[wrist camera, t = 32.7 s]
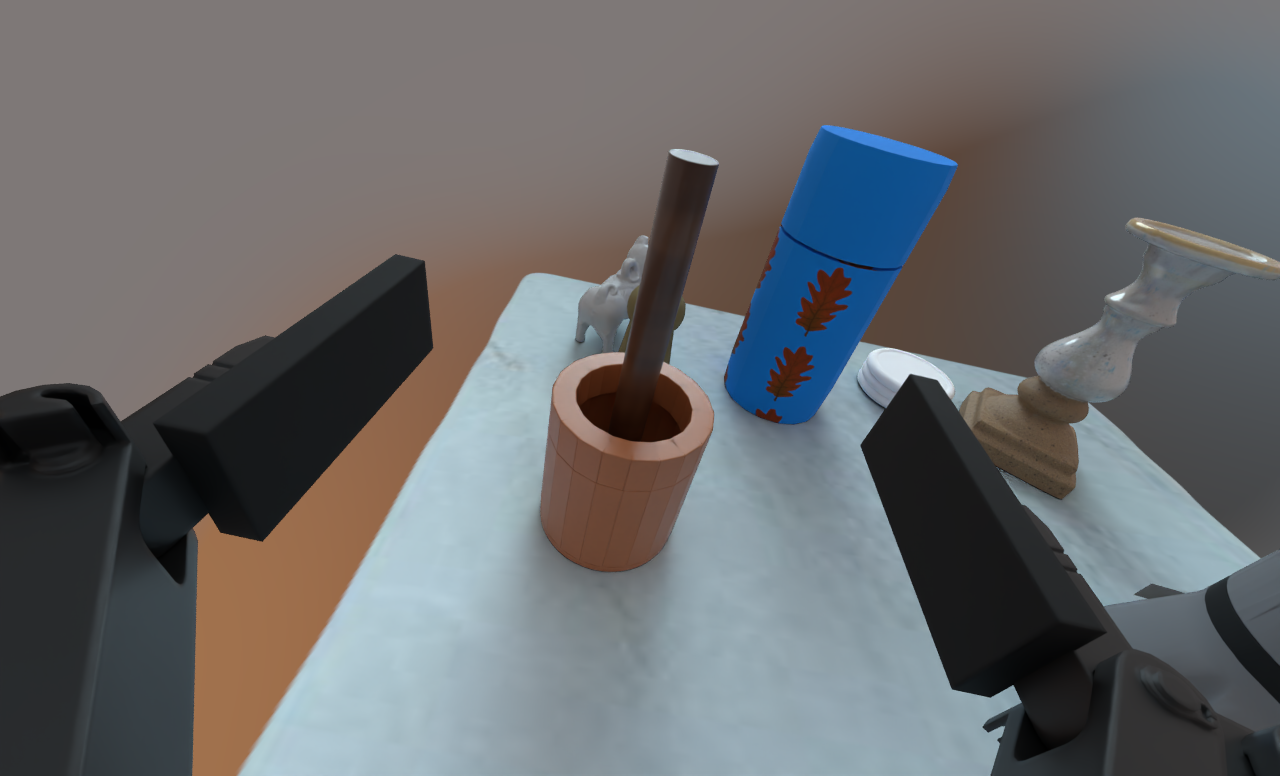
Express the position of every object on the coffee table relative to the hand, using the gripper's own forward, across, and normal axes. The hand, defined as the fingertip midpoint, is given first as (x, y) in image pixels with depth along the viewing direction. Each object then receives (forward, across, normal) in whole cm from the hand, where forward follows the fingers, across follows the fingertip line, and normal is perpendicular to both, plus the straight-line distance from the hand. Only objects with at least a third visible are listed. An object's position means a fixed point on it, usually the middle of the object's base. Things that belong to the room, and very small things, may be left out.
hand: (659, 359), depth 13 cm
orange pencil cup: (+11, 0, -22) cm, 24 cm away
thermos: (+31, +15, -22) cm, 41 cm away
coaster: (+37, +31, -22) cm, 53 cm away
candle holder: (+31, +42, -22) cm, 57 cm away
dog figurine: (+36, -4, -22) cm, 42 cm away
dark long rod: (+11, 0, -21) cm, 24 cm away
